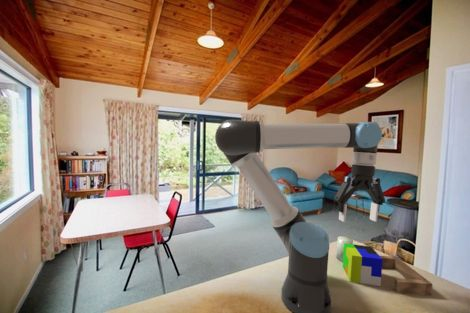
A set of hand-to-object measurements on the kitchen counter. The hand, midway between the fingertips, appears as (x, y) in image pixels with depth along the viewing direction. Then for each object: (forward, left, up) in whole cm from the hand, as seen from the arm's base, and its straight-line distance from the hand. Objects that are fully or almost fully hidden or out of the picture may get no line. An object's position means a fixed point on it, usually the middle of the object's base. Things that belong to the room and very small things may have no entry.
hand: (357, 220), depth 82 cm
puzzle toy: (+3, +1, -22) cm, 22 cm away
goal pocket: (+16, +1, -22) cm, 27 cm away
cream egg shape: (+2, +13, -22) cm, 25 cm away
